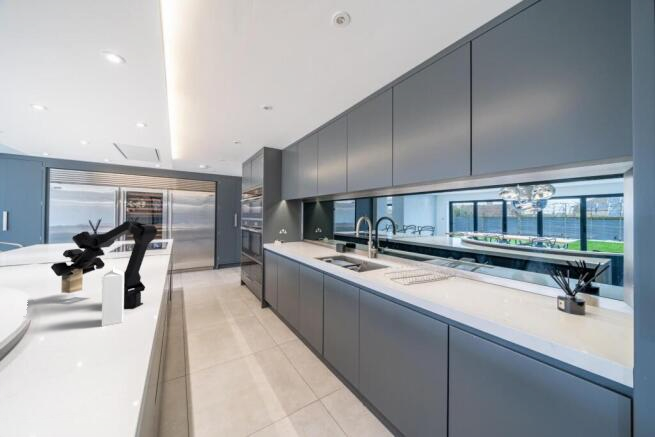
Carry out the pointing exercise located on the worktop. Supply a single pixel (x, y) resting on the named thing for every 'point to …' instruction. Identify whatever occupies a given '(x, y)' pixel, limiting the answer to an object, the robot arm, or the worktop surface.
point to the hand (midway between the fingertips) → (69, 277)
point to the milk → (112, 297)
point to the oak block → (72, 282)
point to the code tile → (71, 300)
